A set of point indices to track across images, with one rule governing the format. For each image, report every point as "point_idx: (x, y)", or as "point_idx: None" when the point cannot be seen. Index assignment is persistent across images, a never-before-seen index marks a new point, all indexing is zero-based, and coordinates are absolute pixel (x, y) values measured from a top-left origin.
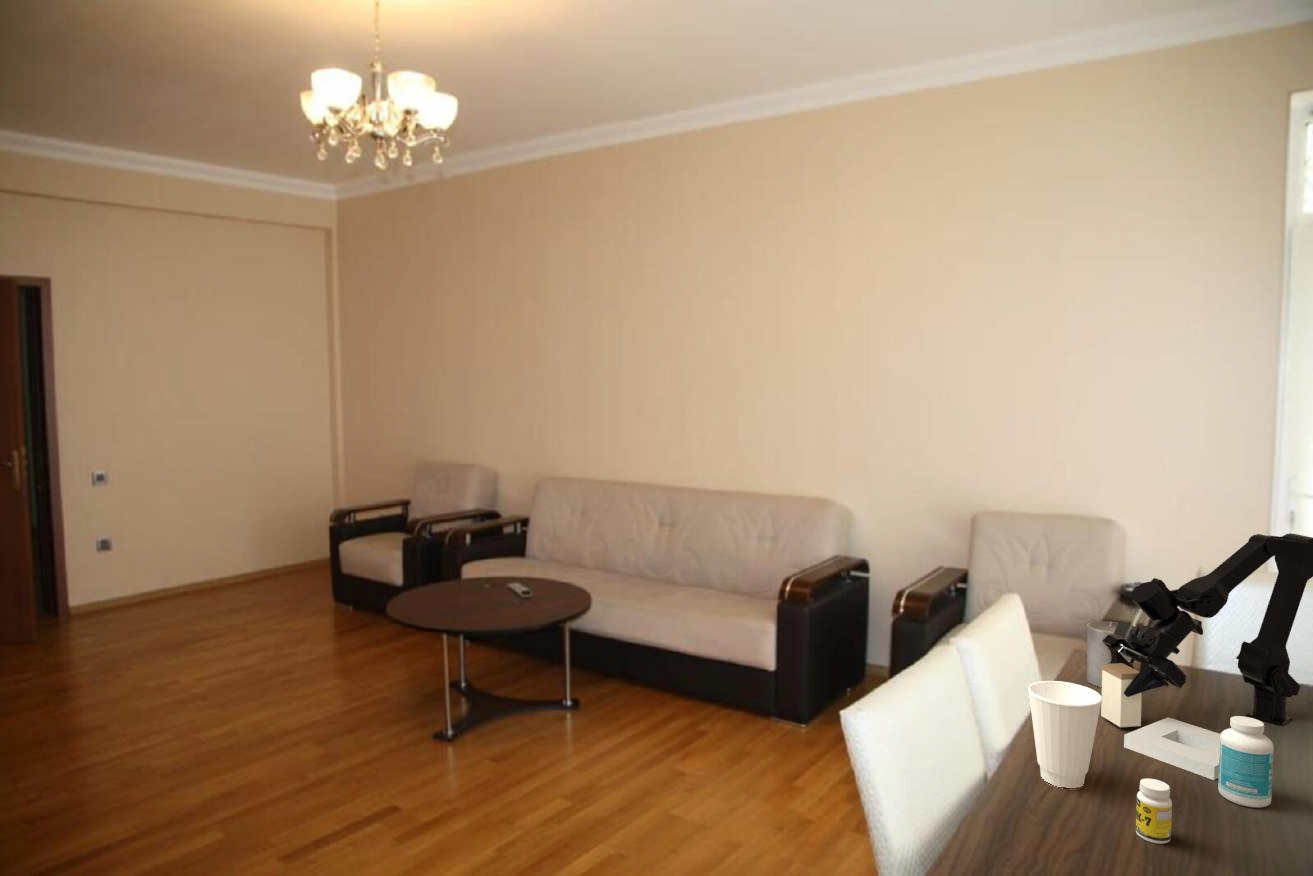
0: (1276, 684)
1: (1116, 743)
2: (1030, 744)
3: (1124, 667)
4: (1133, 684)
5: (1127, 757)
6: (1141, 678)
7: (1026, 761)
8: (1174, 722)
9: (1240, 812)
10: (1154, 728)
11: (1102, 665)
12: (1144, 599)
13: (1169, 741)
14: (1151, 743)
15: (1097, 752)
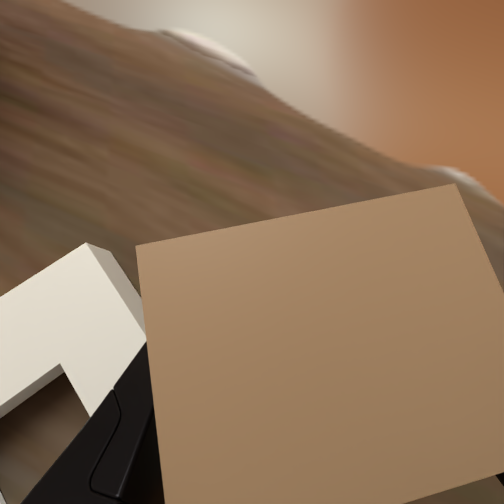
0: None
1: (138, 243)
2: (135, 52)
3: (387, 395)
4: (140, 354)
5: (48, 233)
6: (58, 463)
7: (49, 19)
8: None
9: None
10: None
11: (441, 189)
12: None
13: (15, 375)
14: (8, 300)
15: (84, 173)
